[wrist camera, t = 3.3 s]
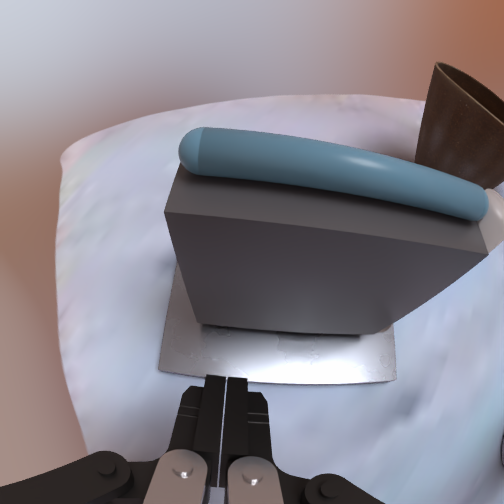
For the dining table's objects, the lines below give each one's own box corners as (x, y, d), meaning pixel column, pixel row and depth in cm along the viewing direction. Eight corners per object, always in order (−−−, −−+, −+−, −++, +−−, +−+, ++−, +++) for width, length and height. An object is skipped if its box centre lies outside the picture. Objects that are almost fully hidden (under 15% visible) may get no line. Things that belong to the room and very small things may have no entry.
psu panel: (378, 264, 25) (386, 257, 24) (388, 381, 20) (398, 379, 18) (184, 244, 25) (182, 234, 23) (161, 371, 19) (157, 368, 18)
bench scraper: (389, 291, 22) (504, 175, 10) (394, 337, 20) (535, 242, 8) (205, 275, 21) (188, 99, 9) (198, 325, 19) (154, 175, 7)
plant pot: (387, 210, 29) (458, 93, 15) (384, 138, 36) (424, 48, 23) (479, 252, 28) (556, 172, 14) (462, 176, 35) (510, 104, 21)
